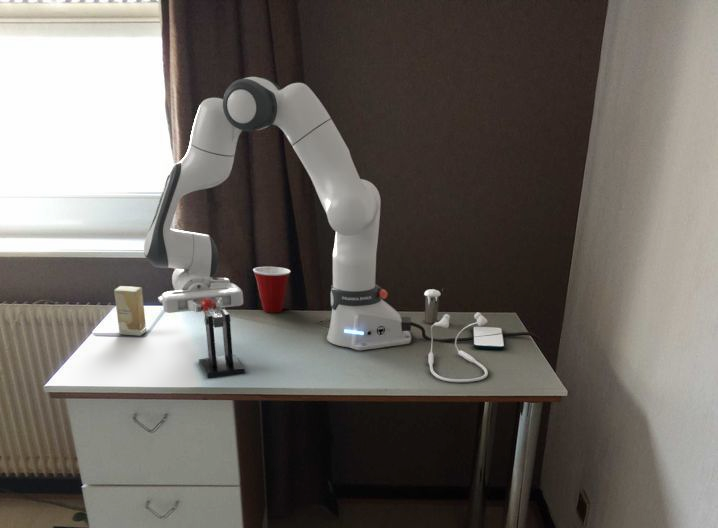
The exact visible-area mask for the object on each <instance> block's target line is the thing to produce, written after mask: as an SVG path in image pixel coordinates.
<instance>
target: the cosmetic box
mask: <svg viewBox="0 0 718 528" xmlns="http://www.w3.org/2000/svg"><path fill="white" fill-rule="evenodd" d="M113 293H114V300H115V308H116V316H117V317H116V318H117V325H118V331H119V335H125V336H126V335H127V336H138V337H141V336H142V335H144V334H145V333H147V323H146V316H145V306H144V295H143V287H142V286H141V287H140V286H130V285H129V286H128V285H127V286H126V285H119V286H118V287H116V288H115V289H114V290H113ZM145 327H146V328H145ZM144 328H145V329H144ZM143 329H144V330H143ZM142 330H143V331H142ZM141 331H142V332H141Z"/></svg>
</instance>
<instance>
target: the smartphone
mask: <svg viewBox="0 0 718 528" xmlns="http://www.w3.org/2000/svg"><path fill="white" fill-rule="evenodd" d="M500 333H503V329H502V327H496V326H495V327H493V326H492V327H491V326H473V327H472V337H474V338H473V340H472V342H473V346H472V347H474V348H475V349H489V350H504V349H505V341H504V336H503V334H500ZM493 334H498V335H493ZM485 335H490V336H485ZM476 336H480V337H476Z"/></svg>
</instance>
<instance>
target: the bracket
mask: <svg viewBox="0 0 718 528" xmlns="http://www.w3.org/2000/svg"><path fill="white" fill-rule="evenodd" d="M203 313H204V318H203V320H204V321H203V322H204V325H205V333H206V343H207V352H208V353H207V355H208V357H206V358H198V365H199V366H200V368H201V369H202V371H203V373H204V374H205V376H206V377H207V379H211V378H212V379H213V378H219V377H225V376H232V375H240V374H245V373H246V371H245V367H244V366H243V365H242V363H241V362H240V360H239V359H238V358H237V357H236V355H235V354H234V353H233V341H232V331H231V330H232V329H231V328H232V327H231V320H232V319H231V316H230V313H229V312H228V311H227V309H226V308H222V309H221V310H220V313H221V315H222V316H223V323H224V327H221V328H222V338H223V340H222V341H223V351H224V352H223V353H224V355H222V356H217V351H216V340H215V327H214V326H213V316H212V315H211V314H210V312H209V311H204V312H203Z"/></svg>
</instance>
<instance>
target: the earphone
mask: <svg viewBox="0 0 718 528" xmlns="http://www.w3.org/2000/svg"><path fill="white" fill-rule="evenodd" d="M473 316H474V319H475V320H476V322H473V323H470V324H468V325H466V326H464V327H463V328H462V329H461V330H460V331H459V332H458V333H457V335H456V337H455V338H456V340H455V341H454V346H455V349H456V351H457V353H458V354H457V355H458V356H459V357H462V358H463V359H465V360H466V361H468V362H469V363H472V364H475V365H477V366H478V367H479V368H481V370H483V372H484V374H483V375H482V376H479V377H474V378H464V379H463V378H462V379H461V378H460V379H456V378H448V377H445V376H442V375H439V374H437V373H436V372H435V371H434V366H433V365H434V355H435V354H434V353H433V345H434V344H433V343H434V341H433V339H434V334H433V328H434V327H441V328H444V329H448V328H449V326H450V319H451V315H450V314H448V313H445V314H444V315H442V318H441V319H440V320H439V321H437V322H435V323H433V324H431V326H430V335H431V338H432V341H431V345H430V352H428V356H427V360H428V361H427V363H428V365H429V370H430V373H431V374H432V375H433V376H434V377H435V378H436V379H438V380H440V381H444V382H449V383H474V382H479V381H482V380H484V379H486V378H487V377H488V375H489V371H488V368H486V366H484V365H483V364H482V363H480V362H479V361H477V359H475V357H473V356H472V355H470V354H469V353H467V352H466V351H464V350H459V348H458V346H457V342H458V341H457V338H459V336H460V335H461V333H462V332H463V331H464V330H466V329H467V328H469V327H471V326H474V325H477V327H483V326H484V325H486V324H488V319H487V318H486V317H485V316H484V315H482V313H481V312H479V311H477V312H475V314H474V315H473Z"/></svg>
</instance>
